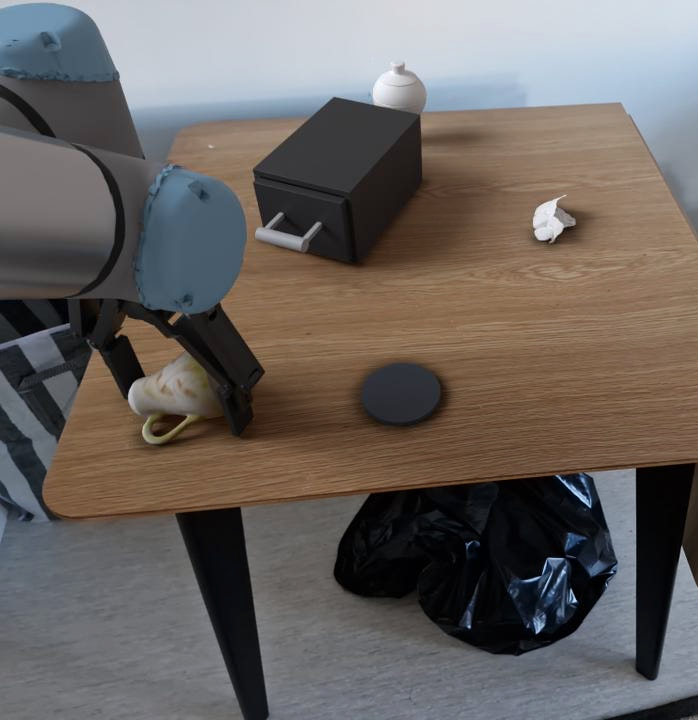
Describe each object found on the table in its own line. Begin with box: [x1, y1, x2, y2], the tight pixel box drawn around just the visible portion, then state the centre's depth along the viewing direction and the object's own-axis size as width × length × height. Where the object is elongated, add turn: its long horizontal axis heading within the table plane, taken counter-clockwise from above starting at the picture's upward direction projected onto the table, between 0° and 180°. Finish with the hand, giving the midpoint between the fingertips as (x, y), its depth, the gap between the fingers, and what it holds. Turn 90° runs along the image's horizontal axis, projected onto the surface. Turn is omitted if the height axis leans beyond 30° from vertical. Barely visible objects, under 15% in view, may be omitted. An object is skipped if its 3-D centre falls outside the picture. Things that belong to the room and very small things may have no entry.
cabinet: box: [252, 96, 424, 264], centre depth 92 cm, size 20×13×10 cm, turn 160°
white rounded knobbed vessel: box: [372, 59, 428, 116], centre depth 104 cm, size 8×8×12 cm
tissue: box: [532, 194, 577, 244], centre depth 93 cm, size 6×8×4 cm
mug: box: [127, 350, 229, 445], centre depth 69 cm, size 8×10×10 cm
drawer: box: [252, 177, 353, 263], centre depth 89 cm, size 24×11×8 cm, turn 160°
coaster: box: [360, 362, 442, 427], centre depth 73 cm, size 8×8×1 cm
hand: (188, 408), depth 71 cm, fingers open, 12 cm apart
